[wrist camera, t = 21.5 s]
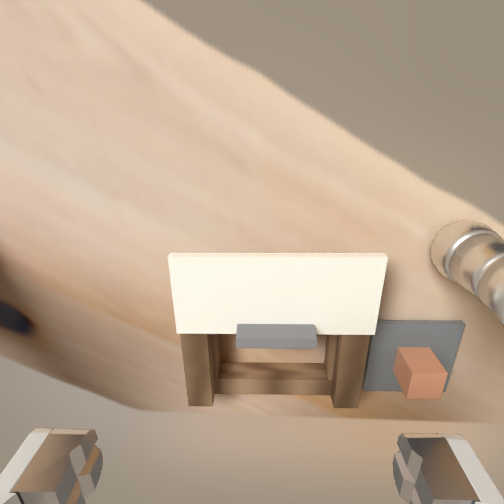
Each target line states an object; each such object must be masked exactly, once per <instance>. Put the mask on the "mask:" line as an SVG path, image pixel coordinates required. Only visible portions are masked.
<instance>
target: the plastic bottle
mask: <svg viewBox="0 0 504 504" xmlns="http://www.w3.org/2000/svg"><path fill="white" fill-rule="evenodd" d="M430 254H431V259H432V261H433V263H434V265H435V266H436V268H437V269H438V271H439V272H440V273H441V274H442V275H443V276H445V277H446V278H448V279H450V280H451V281H453V282H455V283H457V284H459V285H461V286H462V287H464V288H465V289H467V290H468V291H470V292H471V293H472V294H474V295H475V296H477V297H478V298H479V300H481V301H482V302H483V303H484V305H485V306H486V307H487V308H488V309H489V310H490V311H491V312H492V313H493V314H494V315H495V316H496V317H497V319H498V320H499V321H500V322H501V324H502V325H503V326H504V240H503V239H502V238H501V236H499V235H498V234H497V233H496V232H495V231H494V230H493V229H491V228H490V227H489V226H487V225H485V224H482V223H479V222H475V221H470V220H461V221H456V222H453V223H451V224H449V225H447V226H445V227H444V228H442V229H441V230H440V231H439V232H438V233H437V235H436V236H435V238H434V240H433V242H432V245H431V250H430Z"/></svg>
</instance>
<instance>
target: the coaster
mask: <svg viewBox="0 0 504 504" xmlns="http://www.w3.org/2000/svg"><path fill="white" fill-rule="evenodd" d="M464 327H465V324H464V323H463V322H462V321H419V320H377V325H376V330H375V335H370V339H369V345H368V351H367V357H366V364H365V370H364V376H363V382H362V388H363V391H402V389H401V387H400V385H399V383H398V381H397V379H396V377H395V375H394V373H393V368H394V364H395V359H396V354H397V349H398V347H430V349H431V350H432V351H433V353H434V354H435V356H436V357H437V359H438V360H439V361H440V363H441V364H442V366H443V367H444V369H445V370H446V371H447V373H448V375H447V378H446V382H445V385H444V388H443V392H445V390H446V387H447V384H448V380H449V377H450V374H451V370H452V367H453V364H454V360H455V357H456V354H457V350H458V347H459V344H460V340H461V337H462V334H463V330H464Z"/></svg>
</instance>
